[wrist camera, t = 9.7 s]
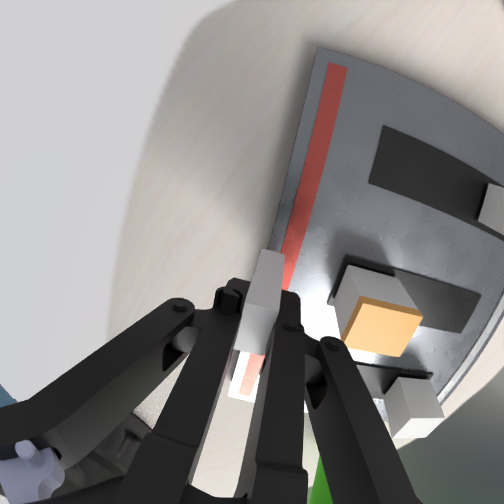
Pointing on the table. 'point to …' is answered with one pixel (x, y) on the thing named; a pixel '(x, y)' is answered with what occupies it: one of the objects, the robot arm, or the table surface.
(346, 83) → the panel
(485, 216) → the block
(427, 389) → the block
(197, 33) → the table surface
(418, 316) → the block
